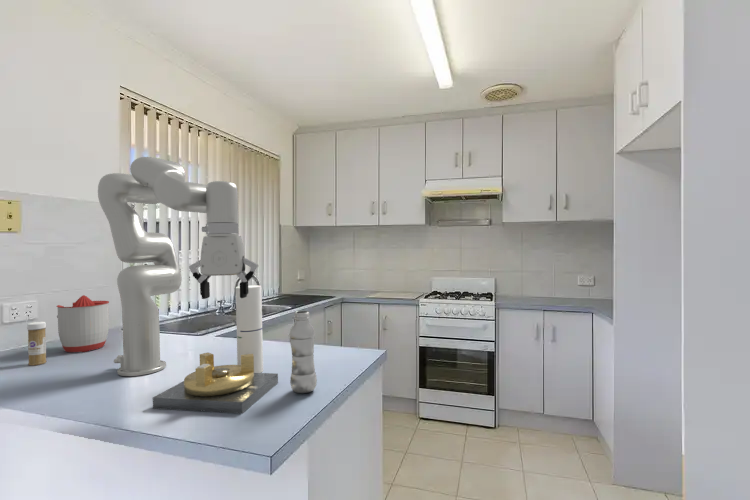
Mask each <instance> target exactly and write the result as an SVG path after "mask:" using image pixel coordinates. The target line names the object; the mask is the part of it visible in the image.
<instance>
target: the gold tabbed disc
mask: <svg viewBox="0 0 750 500" xmlns="http://www.w3.org/2000/svg"><path fill="white" fill-rule="evenodd" d="M214 356H215V355H214V354H213V353H212V352H204V353H199V366H197V367H195V371H194V372H193V371H192V372H191V373H189V374H187V375H186V376H185V377H184V380H183V381H184V390H185V392H186V393H188V394H191V395H196V396H215V395H222V394H227V393H232V392H235V391H238V390H241V389H244V388H246V387H248V386H249V385H251V384H252V383H253V381H254V356H253V354H246V355H241V365H237V364H224V365H216V366H215V358H214Z"/></svg>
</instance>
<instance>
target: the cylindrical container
mask: <svg viewBox="0 0 750 500" xmlns="http://www.w3.org/2000/svg"><path fill="white" fill-rule="evenodd" d="M262 295H263V294H262V285H257V284H256V285H254V284H253V285H252V284H251V285H249V284H248V294H247V297H245V298H240V285H239V286H236V287H235V313H236V315H235V316H236V317H235V319H236V322H235V323H236V354H237V355H236V356H237V357H236V360H237V361H236V362H237V363H236V365H241V355H246V354H253V356H254V373H264V372H263V371H264V352H263V351H264V346H263V345H264V344H263V342H264V340H263V307H262V306H263V304H262V303H263V301H262V299H263V297H262Z"/></svg>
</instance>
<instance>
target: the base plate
mask: <svg viewBox="0 0 750 500" xmlns="http://www.w3.org/2000/svg"><path fill="white" fill-rule="evenodd" d="M278 383H279V374H278V373H269V372H261V373H254V381H253V383H252V384H251V385H249V386H248V387H246V388H244V389H241V390H238V391H235V392H232V393H227V394H222V395H215V396H196V395H191V394H188V393H186V392H185V390H184V380H183V381H181V382H179V383H177V384H176V385H174V386H172V387H170V388H168V389H166V390H164V391H162V392H161V393H158V394H157V395H155V396H153V397H152V409H154V410H155V409H156V410H170V411H171V410H172V411H190V412H206V413H207V412H208V413H209V412H210V413H227V414H244V413H245V412H246V411H247V410H248V409H249V408H251V407H252V406H253V405H254V404H256V402H258V401H259V400H261V398H262V397H264V396H265V395H266V394H267V393H268V392H270V390H272V389H273V388H274V387H276V385H278Z"/></svg>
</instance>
